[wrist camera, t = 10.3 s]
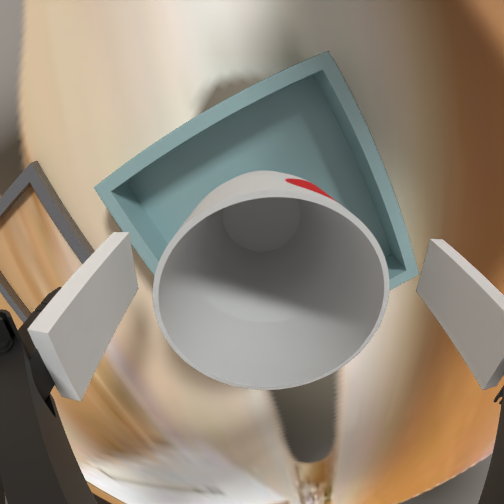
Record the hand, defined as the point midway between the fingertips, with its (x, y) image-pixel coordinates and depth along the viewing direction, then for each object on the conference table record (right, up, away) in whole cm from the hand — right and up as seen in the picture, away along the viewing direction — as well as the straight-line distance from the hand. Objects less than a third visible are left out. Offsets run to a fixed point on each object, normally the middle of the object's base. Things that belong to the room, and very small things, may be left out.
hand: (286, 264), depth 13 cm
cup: (-1, +3, +7) cm, 7 cm away
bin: (0, +3, +7) cm, 8 cm away
